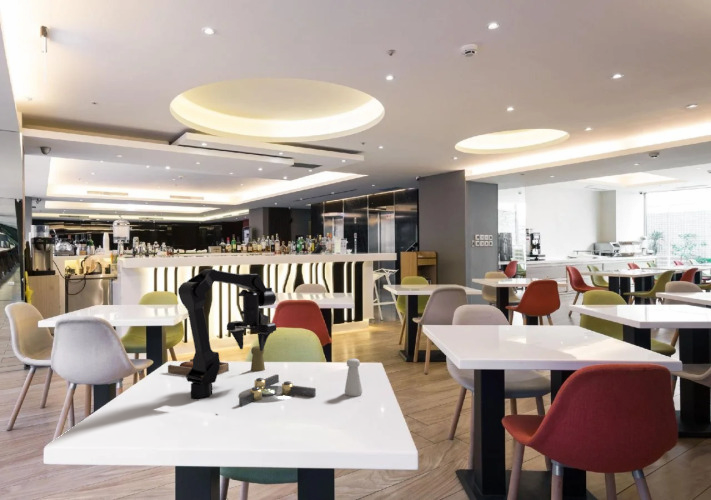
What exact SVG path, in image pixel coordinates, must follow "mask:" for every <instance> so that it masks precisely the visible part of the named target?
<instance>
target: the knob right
mask: <svg viewBox="0 0 711 500" xmlns="http://www.w3.org/2000/svg"><path fill="white" fill-rule="evenodd" d="M281 386H282V394H285V395H289V394H294V395H295V396H303V397H308V398H315V397H316V396H317V395H316V388H315V387H310V386H308V387H307V386H301V385H294V384H293V382H292V381H288V380H287V381H283V383H282V384H281Z"/></svg>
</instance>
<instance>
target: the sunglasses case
mask: <svg viewBox="0 0 711 500" xmlns="http://www.w3.org/2000/svg"><path fill="white" fill-rule="evenodd" d="M179 366H183V367H191V368H192V367H193V361H190V360H189V361H183V362H181V363H180V364H179Z"/></svg>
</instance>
